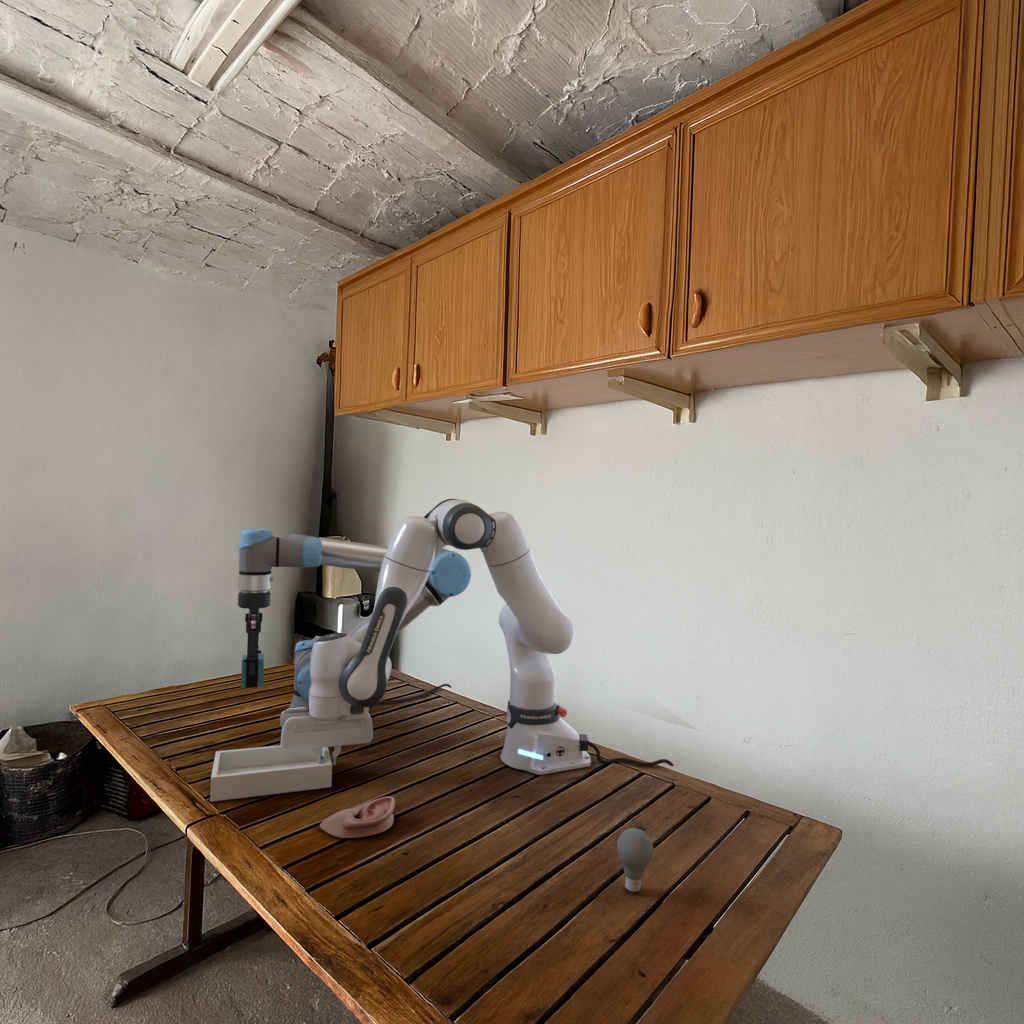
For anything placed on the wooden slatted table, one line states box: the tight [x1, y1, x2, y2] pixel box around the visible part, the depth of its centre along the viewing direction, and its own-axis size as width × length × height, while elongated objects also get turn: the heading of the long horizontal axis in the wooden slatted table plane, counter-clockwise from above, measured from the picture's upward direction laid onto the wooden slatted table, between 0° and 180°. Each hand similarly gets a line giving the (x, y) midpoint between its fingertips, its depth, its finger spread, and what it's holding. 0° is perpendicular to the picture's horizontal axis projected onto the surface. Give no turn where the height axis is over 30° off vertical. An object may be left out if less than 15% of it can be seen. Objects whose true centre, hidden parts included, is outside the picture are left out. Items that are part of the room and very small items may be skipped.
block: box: [240, 653, 265, 689], centre depth 158 cm, size 5×5×7 cm
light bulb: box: [616, 827, 654, 893], centre depth 106 cm, size 6×6×10 cm
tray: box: [209, 744, 333, 802], centre depth 140 cm, size 24×14×5 cm, turn 111°
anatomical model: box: [319, 795, 396, 839], centre depth 123 cm, size 13×4×12 cm
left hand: (251, 683), depth 158 cm, fingers closed on block, 5 cm apart
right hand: (326, 765), depth 145 cm, fingers closed on tray
